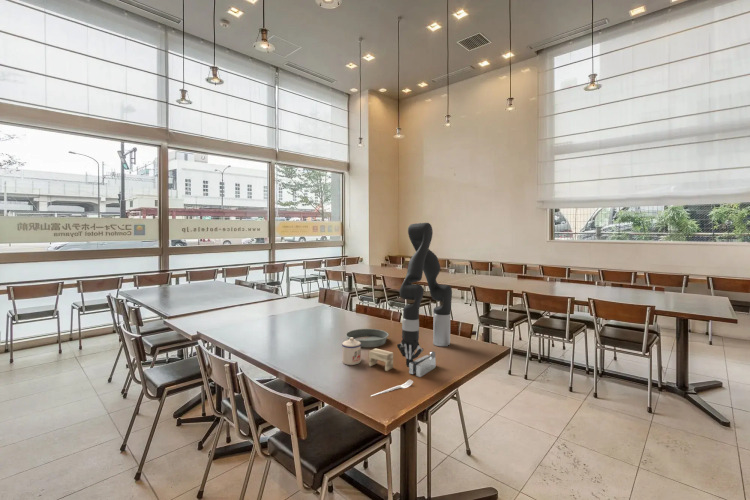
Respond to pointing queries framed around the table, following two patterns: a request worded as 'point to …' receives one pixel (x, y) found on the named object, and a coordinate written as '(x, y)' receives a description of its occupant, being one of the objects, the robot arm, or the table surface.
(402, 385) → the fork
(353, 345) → the teacup with lid
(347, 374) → the table surface
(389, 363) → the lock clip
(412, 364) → the moving jaw
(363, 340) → the cake pan
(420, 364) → the fixed jaw
